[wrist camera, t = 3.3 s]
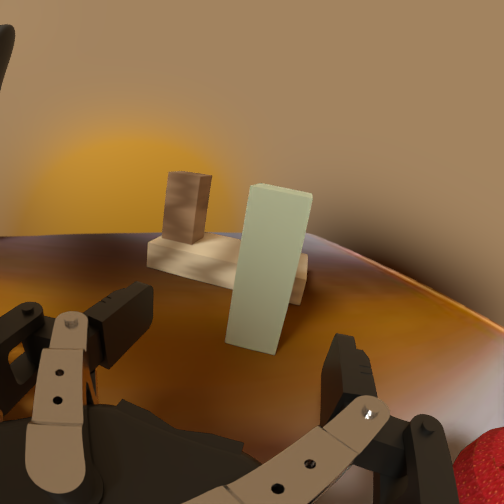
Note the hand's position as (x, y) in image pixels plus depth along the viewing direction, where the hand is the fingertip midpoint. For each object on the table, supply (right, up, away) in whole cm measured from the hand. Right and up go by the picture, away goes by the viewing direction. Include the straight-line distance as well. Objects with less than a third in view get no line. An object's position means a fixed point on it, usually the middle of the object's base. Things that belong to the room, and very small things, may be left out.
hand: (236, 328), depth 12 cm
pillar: (+1, -4, +12) cm, 12 cm away
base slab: (-2, +1, +24) cm, 24 cm away
